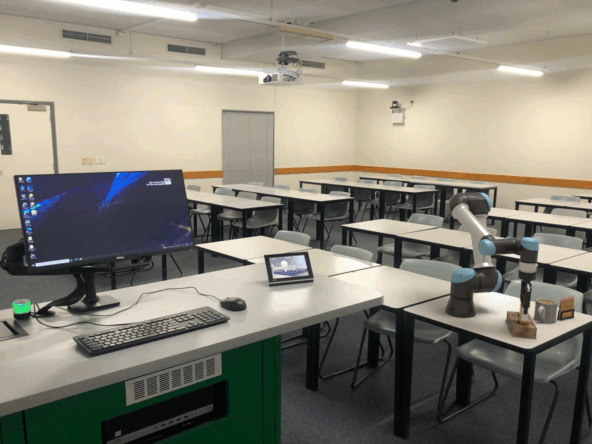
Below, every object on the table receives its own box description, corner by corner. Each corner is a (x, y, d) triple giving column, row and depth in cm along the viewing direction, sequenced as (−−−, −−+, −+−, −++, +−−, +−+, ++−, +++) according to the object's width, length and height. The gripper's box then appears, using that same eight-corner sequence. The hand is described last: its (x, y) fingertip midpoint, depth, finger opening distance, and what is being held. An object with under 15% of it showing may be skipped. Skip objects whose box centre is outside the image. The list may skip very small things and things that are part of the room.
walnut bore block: (512, 336, 234) (513, 326, 233) (506, 320, 255) (507, 310, 254) (536, 338, 231) (536, 328, 230) (527, 322, 252) (528, 312, 251)
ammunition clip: (570, 316, 261) (573, 294, 259) (573, 317, 259) (576, 295, 257) (556, 319, 256) (559, 297, 254) (560, 321, 255) (562, 298, 253)
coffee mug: (541, 315, 262) (543, 297, 261) (559, 321, 254) (561, 302, 252) (525, 319, 256) (527, 301, 254) (544, 326, 247) (545, 306, 246)
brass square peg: (519, 329, 237) (521, 305, 235) (518, 327, 240) (520, 303, 238) (526, 330, 236) (528, 306, 234) (525, 328, 239) (527, 304, 237)
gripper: (540, 276, 224) (535, 325, 228) (532, 266, 241) (528, 313, 244) (522, 274, 226) (517, 324, 230) (515, 265, 242) (512, 311, 246)
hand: (523, 318), depth 237 cm, fingers open, 4 cm apart
